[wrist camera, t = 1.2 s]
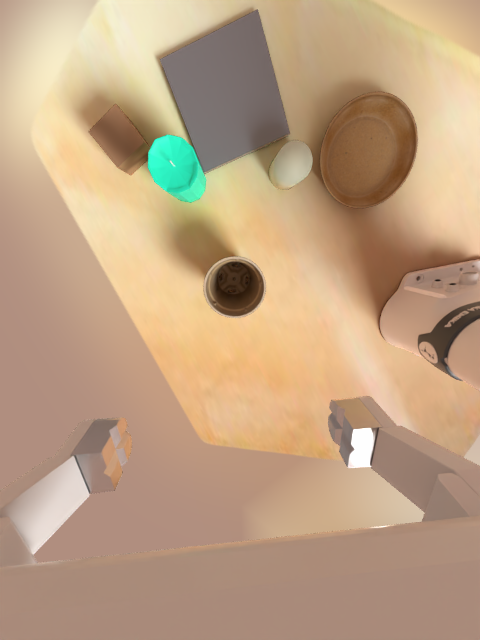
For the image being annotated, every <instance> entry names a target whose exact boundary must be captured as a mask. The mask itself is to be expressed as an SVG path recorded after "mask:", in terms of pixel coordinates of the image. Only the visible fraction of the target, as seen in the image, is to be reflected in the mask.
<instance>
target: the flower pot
mask: <svg viewBox="0 0 480 640" xmlns="http://www.w3.org/2000/svg"><path fill="white" fill-rule="evenodd" d="M233 265H238V266H239V267H235V266H233ZM220 274H223V276H222V280H220V279H219V278H220ZM246 277H248V278H249V280H248V283H247V284H246ZM233 278H235V280H233ZM203 287H204V288H203V289H204V295H205V298H206V301H207V303H208V304H209V306H210V307H211V308H212V309H213V310H214V311H215V312H217V313H218V314H220V315H222V316H225V317H229V318H241V317H245V316H247V315H249V314H251V313H253V312H254V311H255V310H256V309H257V308H258V307H259V306H260V305H261V303H262V302H263V300H264V297H265V292H266V281H265V278H264V275H263V273H262V271H261V269H260V268H259V267H258V266H257V265H256V264H255V263H254V262H252V261H251V260H249V259H246V258H243V257H238V256H232V257H226V258H223V259H221V260H219V261H218V262H216V263H215V264H214V265H213V266H212V267H211V268H210V269H209V271H208V272H207V274H206V277H205V280H204V286H203ZM229 290H233V291H235V292H229Z"/></svg>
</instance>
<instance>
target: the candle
mask: <svg viewBox="0 0 480 640" xmlns="http://www.w3.org/2000/svg"><path fill="white" fill-rule="evenodd" d="M148 169H149V171H150V173H151V175H152V178H153V180H154V182H155V183H156V184H158V185H159V186H160V187H161V188H163V189H164V190H165V191H166V192H168V193H169V194H171V195H173V196H174V197H176V198H177V199H179V200H181V201H185V202H190V203H191V202H193V201H196V200H198V199H200V197H201V196H202V194H203V193H204V191H205V186H206V178H205V175H204V173H203V170H202V168H201V165H200V163H199V161H198V158H197V156H196V153H195V151H194V149H193V147H192V146H191V145H190V144H188V143H187V142H186V141H185V140H184V139H183V138H181V137H177V136H172V135H165V136H163V137H160V138H157V139H155V140H154V142H153V144H152V146H151V148H150V150H149V152H148Z"/></svg>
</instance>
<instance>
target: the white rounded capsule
mask: <svg viewBox="0 0 480 640" xmlns="http://www.w3.org/2000/svg"><path fill="white" fill-rule="evenodd" d="M312 163H313V158H312V153H311V150H310V148H309V147H308V146H307V145H306V144H305V143H304V142H302V141H299V140H293V141H290V142H288V143H286V144H285V145H284V146H283V147H282V148H281V149H280V151H279V152H278V154H277V155H276V157H275V158H274V160H273V162H272V163H271V165H270V169H269V177H270V180H271V182H272V184H273V185H274V186H275V187H276V188H278V189H281V190H287V189H290V188H292V187H293V186H295V185H296V184H298V183H299V182H300V181H302V180H303V179H305V178H306V177H307V175H308V174H309V172H310V170H311V168H312Z"/></svg>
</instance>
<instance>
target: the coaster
mask: <svg viewBox="0 0 480 640" xmlns="http://www.w3.org/2000/svg"><path fill="white" fill-rule="evenodd" d="M160 61H161V64H162V66H163V69H164V71H165V74H166V76H167V79H168V82H169V84H170V87H171V89H172V92H173V94H174V97H175V100H176V102H177V105H178V107H179V110H180V112H181V115H182V117H183V120H184V123H185V125H186V128H187V130H188V133H189V135H190V138H191V140H192V143H193V146H194V148H195V151H196V153H197V156H198V158H199V161H200V163H201V166H202V169H203V171H204V174H205V173H208V172H210V171H212V170H214V169H216V168H219V167H221V166H223V165H225V164H227V163H230V162H232V161H234V160H236V159H238V158H241V157H243V156H245V155H247V154H249V153H252V152H254V151H256V150H258V149H260V148H263V147H265V146H267V145H269V144H271V143H274V142H276V141H278V140H280V139H282V138H285V137H287V136H289V134H290V131H289V128H288V124H287V120H286V116H285V112H284V108H283V105H282V101H281V97H280V93H279V89H278V85H277V81H276V78H275V74H274V70H273V66H272V62H271V58H270V54H269V51H268V47H267V43H266V39H265V35H264V31H263V28H262V24H261V20H260V16H259V12H258V9H257V10H255V11H254V12H252V13H250V14H248V15H246V16H244V17H242V18H240V19H238V20H236V21H234V22H232V23H230V24H228V25H226V26H224V27H222V28H220V29H218V30H216V31H214V32H212V33H210V34H209V35H207V36H205V37H203V38H201V39H199V40H197V41H195V42H193V43H191V44H189V45H187V46H185V47H183V48H181V49H179V50H177V51H175V52H173V53H171V54H169V55H167V56H165V57H163V58H162V59H160Z"/></svg>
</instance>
